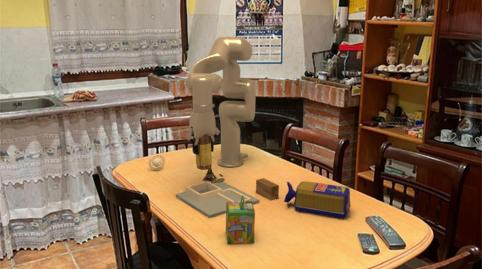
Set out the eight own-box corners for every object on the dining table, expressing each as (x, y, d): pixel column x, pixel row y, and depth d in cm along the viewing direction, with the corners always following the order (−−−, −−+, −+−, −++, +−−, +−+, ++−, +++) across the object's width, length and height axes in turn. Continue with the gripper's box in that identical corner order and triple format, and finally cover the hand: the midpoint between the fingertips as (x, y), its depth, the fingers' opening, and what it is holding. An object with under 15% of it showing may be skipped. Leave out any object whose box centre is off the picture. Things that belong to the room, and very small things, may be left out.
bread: (346, 221, 170) (348, 195, 167) (281, 210, 179) (282, 185, 176) (351, 210, 179) (353, 185, 176) (289, 200, 188) (290, 176, 185)
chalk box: (225, 231, 161) (225, 192, 157) (251, 231, 162) (252, 191, 158) (227, 245, 153) (227, 203, 149) (254, 244, 153) (255, 202, 149)
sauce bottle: (214, 166, 188) (214, 119, 183) (206, 171, 182) (206, 122, 177) (200, 164, 191) (199, 117, 185) (192, 168, 185) (191, 120, 180)
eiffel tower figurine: (198, 187, 202) (198, 158, 199) (190, 179, 211) (189, 151, 207) (229, 182, 209) (229, 153, 205) (220, 174, 217) (220, 147, 214)
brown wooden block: (263, 191, 197) (263, 177, 196) (278, 199, 190) (278, 185, 188) (255, 193, 195) (256, 179, 194) (270, 201, 187) (271, 187, 186)
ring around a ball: (163, 167, 225) (162, 151, 223) (168, 171, 220) (167, 155, 218) (147, 170, 221) (147, 154, 219) (152, 174, 216) (151, 157, 214)
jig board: (223, 184, 205) (223, 175, 204) (259, 202, 186) (259, 192, 184) (175, 196, 191) (175, 187, 189) (209, 218, 171) (209, 207, 170)
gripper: (215, 104, 188) (215, 146, 193) (178, 109, 178) (179, 154, 183) (226, 107, 182) (226, 150, 187) (188, 112, 172) (189, 158, 177)
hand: (203, 152), depth 185 cm, fingers closed on sauce bottle, 6 cm apart
